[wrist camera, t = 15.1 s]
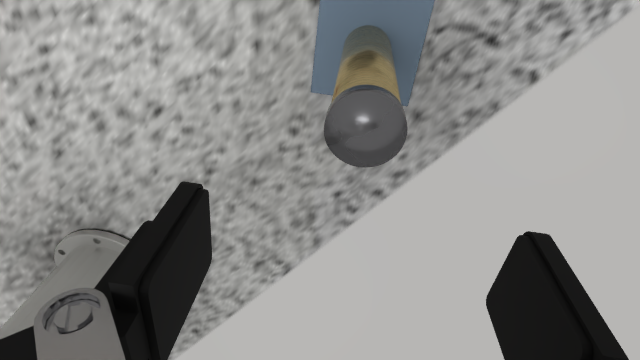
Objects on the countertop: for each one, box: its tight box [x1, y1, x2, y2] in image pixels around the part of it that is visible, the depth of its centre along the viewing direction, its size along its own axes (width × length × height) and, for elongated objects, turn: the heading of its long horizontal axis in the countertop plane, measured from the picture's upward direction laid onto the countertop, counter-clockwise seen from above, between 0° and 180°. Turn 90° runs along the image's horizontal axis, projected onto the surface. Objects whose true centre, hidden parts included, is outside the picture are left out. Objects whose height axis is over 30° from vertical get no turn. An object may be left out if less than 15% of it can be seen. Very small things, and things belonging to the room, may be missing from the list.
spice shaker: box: [324, 25, 407, 167], centre depth 24 cm, size 4×4×14 cm
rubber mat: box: [311, 0, 435, 106], centre depth 30 cm, size 8×8×1 cm
